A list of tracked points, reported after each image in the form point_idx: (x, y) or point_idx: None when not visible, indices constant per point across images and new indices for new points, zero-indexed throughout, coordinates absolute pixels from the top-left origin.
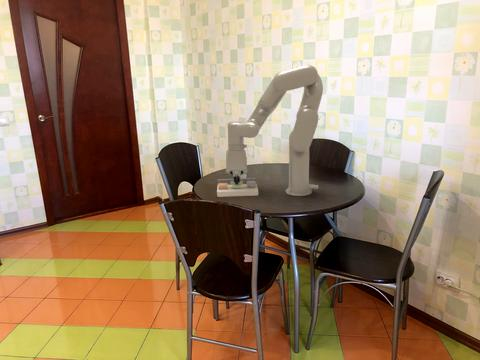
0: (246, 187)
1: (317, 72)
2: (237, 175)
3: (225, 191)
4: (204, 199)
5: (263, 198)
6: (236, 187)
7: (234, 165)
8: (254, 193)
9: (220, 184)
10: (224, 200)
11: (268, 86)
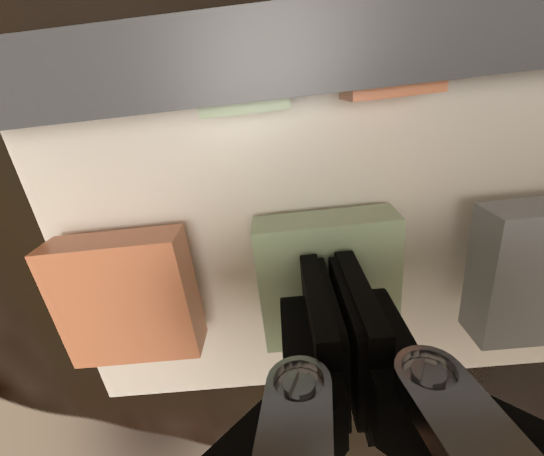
0: (444, 257)
1: None
2: (380, 445)
3: (197, 386)
4: (44, 408)
5: (539, 390)
6: None
7: None
8: None
9: (81, 314)
10: (216, 426)
11: None
